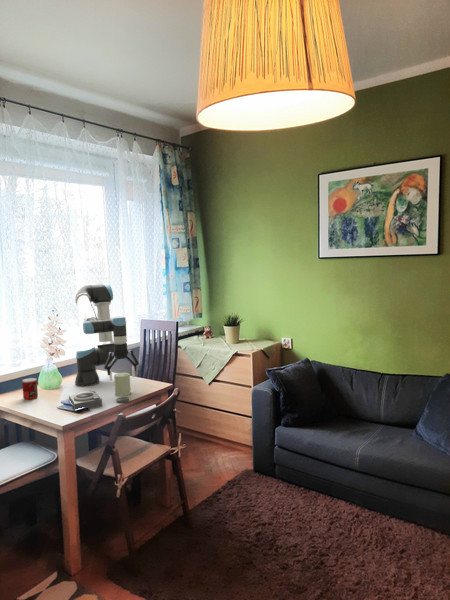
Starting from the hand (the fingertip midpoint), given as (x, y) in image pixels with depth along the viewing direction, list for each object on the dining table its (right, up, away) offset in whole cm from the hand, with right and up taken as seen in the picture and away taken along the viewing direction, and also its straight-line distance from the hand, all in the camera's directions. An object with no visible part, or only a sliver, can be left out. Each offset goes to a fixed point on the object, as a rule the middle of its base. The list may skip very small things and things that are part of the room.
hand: (122, 378), depth 253 cm
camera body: (-17, -11, -16) cm, 26 cm away
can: (0, -9, +1) cm, 9 cm away
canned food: (-53, -11, -2) cm, 54 cm away
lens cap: (+3, -11, -13) cm, 17 cm away
